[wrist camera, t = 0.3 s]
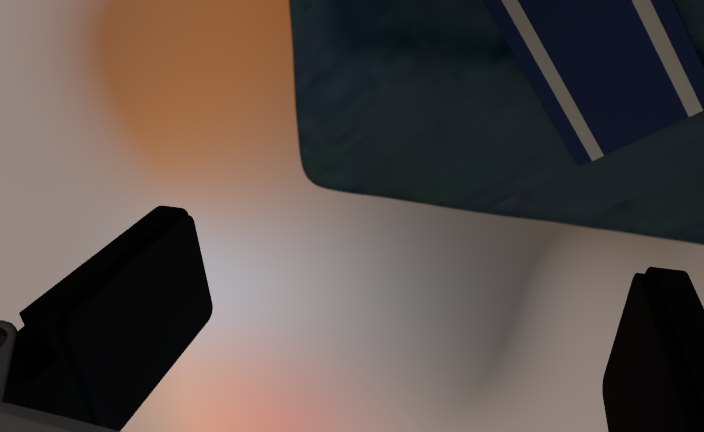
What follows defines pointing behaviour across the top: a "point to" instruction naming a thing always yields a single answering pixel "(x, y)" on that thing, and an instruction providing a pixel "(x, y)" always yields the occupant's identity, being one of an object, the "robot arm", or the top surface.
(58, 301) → the robot arm
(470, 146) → the top surface
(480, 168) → the top surface
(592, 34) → the tea towel
